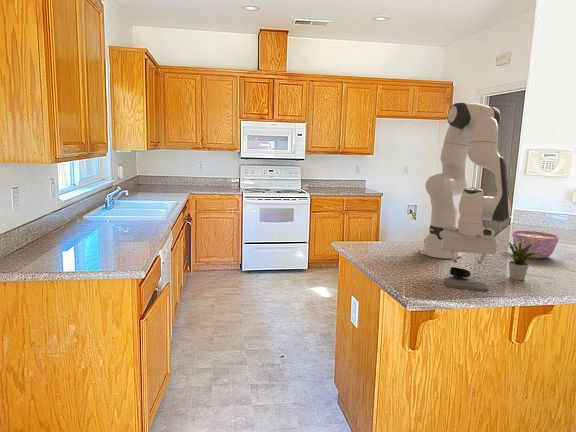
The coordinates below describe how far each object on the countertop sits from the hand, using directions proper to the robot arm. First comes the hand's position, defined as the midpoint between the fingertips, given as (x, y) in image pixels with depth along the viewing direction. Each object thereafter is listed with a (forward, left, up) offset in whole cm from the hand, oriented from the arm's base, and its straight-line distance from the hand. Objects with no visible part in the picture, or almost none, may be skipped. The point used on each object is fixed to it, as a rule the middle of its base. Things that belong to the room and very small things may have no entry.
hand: (467, 263), depth 172 cm
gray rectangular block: (+15, -2, -5) cm, 16 cm away
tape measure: (+8, -2, -5) cm, 9 cm away
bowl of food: (-47, +37, -6) cm, 60 cm away
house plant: (-4, +18, -6) cm, 20 cm away
